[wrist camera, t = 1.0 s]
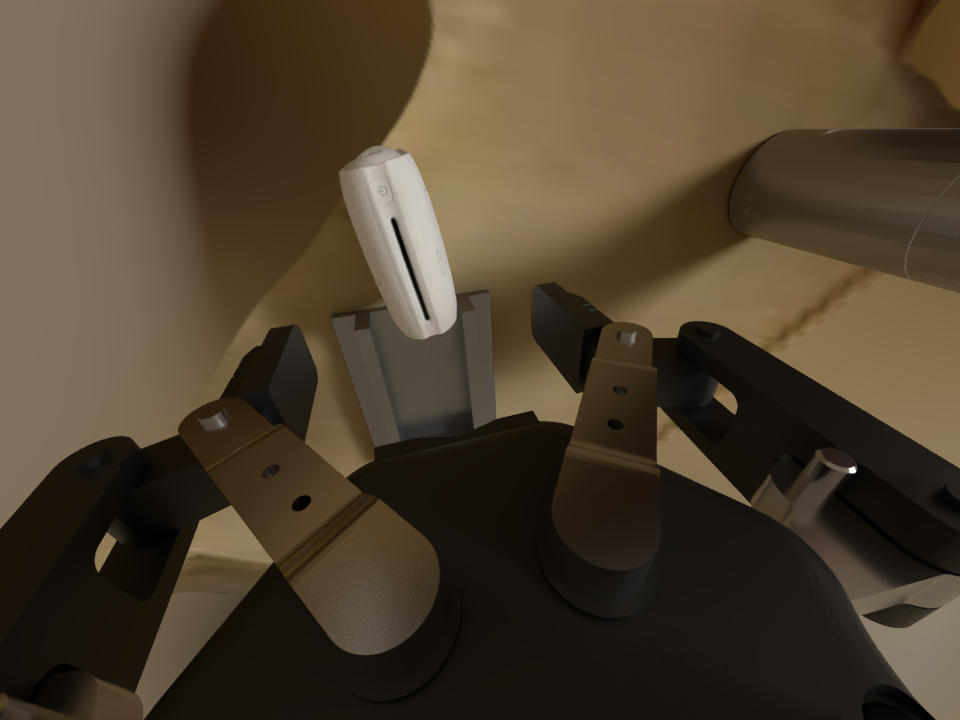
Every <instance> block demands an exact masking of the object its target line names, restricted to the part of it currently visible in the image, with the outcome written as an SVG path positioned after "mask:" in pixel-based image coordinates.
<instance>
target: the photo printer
mask: <svg viewBox="0 0 960 720" xmlns="http://www.w3.org/2000/svg"><path fill="white" fill-rule="evenodd" d="M339 177H340V184H341V190H342V194H343V198H344V201H345V204H346V207H347V210H348V214H349V216H350V219H351V222H352V225H353V227H354V230H355V233H356V236H357V238H358V241H359V243H360V246H361V248H362V251H363V254H364V256H365V259H366V261H367V263H368V266H369V268H370V271H371V273H372V275H373V278H374V280H375V282H376V285H377V287H378V289H379V291H380V293H381V296H382V298H383V300H384V302H385V304H386V306H387V308H388V310H389V312H390V314H391V316H392V318H393V320H394V321H395V323H396V324H397V326H398V327H399V329H400V330H401V331H402V332H403V333H404V334H405V335H406V336H407V337H409V338H412V339H426V338H428V337H430V336H433V335H437V334H443V333H444V332H446V331H447V330H449V329H450V328H451V327H452V326H453V324H454V323H455V321H456V317H457V301H456V295H455V290H454V284H453V280H452V276H451V271H450V267H449V263H448V259H447V256H446V252H445V248H444V244H443V241H442V237H441V234H440V230H439V227H438V223H437V220H436V217H435V213H434V210H433V207H432V204H431V201H430V198H429V195H428V192H427V190H426V188H425V185H424V182H423V180H422V177H421V175H420V173H419V170H418V168H417V166H416V164H415V162H414V160H413V158H412V157H411V155H410V153H408V152H406V151H403V150H401V149H397V150H392V149H390V148H388V147H384V146H374V147H370V148H368V149H366V150H364V151H363V152H362V153H361V154H360V155H359V156H358V157H357V158H356V159H355V160H354V161H351V162H350V163H348V164H347V165H346V166H345V167H344V168H343V169H342V170H341V171H340V172H339Z"/></svg>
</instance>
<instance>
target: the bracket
mask: <svg viewBox="0 0 960 720" xmlns="http://www.w3.org/2000/svg"><path fill="white" fill-rule="evenodd" d="M456 301H457V317H456V321H455V323H454V324H453V326H452V327H451V328H450V329H449V330H447V331H446V332H444V333H443V334H437V335H433V336H430V337H428V338H426V339H412V338H409V337H407V336H406V335H405V334H404V333H403V332H402V331H401V330H400V329H399V327H398V326H397V324H396V323H395V321H394V320H393V318H392V316H391V314H390V312H389V310H388V308H387V306H383V307H377V308H371V309H365V310H358V311H352V312H346V313H340V314H334V315H331V321H332V324H333V327H334V330H335V333H336V336H337V339H338V342H339V345H340V348H341V351H342V354H343V356H344V359H345V362H346V365H347V368H348V371H349V374H350V377H351V380H352V383H353V386H354V389H355V391H356V394H357V397H358V400H359V403H360V406H361V409H362V412H363V415H364V418H365V421H366V423H367V426H368V429H369V432H370V435H371V438H372V441H373V444H374V447H378V446H382V445H387V444H391V443H395V442H400V441H404V440H408V439H413V438H422V437H448V436H459V435H462V434H465V433H467V432H469V431H471V430H473V429H476V428H478V427H480V426H482V425H484V424H487V423H489V422H491V421H493V420H495V419H496V402H495V382H494V363H493V343H492V324H491V304H490V292H489V291H488V290H482V291H476V292H470V293H463V294H457V295H456Z"/></svg>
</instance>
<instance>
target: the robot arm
mask: <svg viewBox="0 0 960 720" xmlns="http://www.w3.org/2000/svg"><path fill="white" fill-rule="evenodd" d="M729 215H730V220H731V223H732V225H733V227H734V228H735V229H736V230H737V231H738V232H740V233H742V234H745V235H749V236H752V237H756V238H760V239H763V240H767V241H770V242H774V243H777V244H781V245H784V246H788V247H792V248H795V249H799V250H802V251H806V252H810V253H813V254H817V255H821V256H824V257H828V258H832V259H835V260H839V261H843V262H846V263H850V264H854V265H857V266H861V267H865V268H868V269H872V270H876V271H879V272H883V273H887V274H890V275H894V276H897V277H901V278H905V279H908V280H912V281H916V282H920V283H924V284H928V285H931V286H935V287H938V288H942V289H946V290H950V291H953V292H957V293H960V128H936V129H794V130H787V131H784V132H782V133H779V134H777V135H776V136H774V137H772V138H771V139H769V140H768V141H767V142H765V143H764V144H763V145H762V146H761V147H760V148H759V149H758V150H757V151H756V152H755V153H754V154H753V155H752V156H751V157H750V159H749V160H748V162H747V163H746V164H745V166H744V167H743V169H742V171H741V172H740V174H739V176H738V178H737V180H736V182H735V185H734V188H733V190H732V194H731V198H730V204H729ZM531 328H532V334H533V337H534V339H535V341H536V342H537V343H538V345H539V346H540V347H541V349H542V350H543V351H544V352H545V354H546V355H547V356H548V358H549V359H550V360H551V361H552V363H553V364H554V365H555V367H556V368H557V369H558V370H559V372H560V373H561V374H562V376H563V377H564V378H565V379H566V381H567V382H568V383H569V385H570V386H571V387H572V388H573V390H574V391H575V392H576V393H580V392H583V395H582V399H581V403H580V406H579V410H578V414H577V418H576V421H575V425H574V426H571V425H567V424H563V423H557V422H548V421H539V420H538V419H537V417H536V415H535V414H534V412H533V411H529V412H525V413H520V414H516V415H512V416H508V417H503V418H499V419H495V420H493V421H491V422H489V423H487V424H484V425H482V426H480V427H478V428H476V429H473V430H471V431H469V432H467V433H465V434H462V435H459V436H448V437H422V438H413V439H408V440H404V441H400V442H395V443H391V444H387V445H382V446H378V447H375V460H374V461H372V462H370V463H368V464H366V465H364V466H362V467H361V468H359V469H358V470H356V471H355V472H353V473H352V474H350V475H349V476H348V477H347V478H345V477H344V476H343V475H342V474H341V473H339V472H338V471H337V470H336V469H335V468H334V467H332V466H331V465H330V464H329V463H328V462H327V461H325V460H324V459H323V458H322V457H321V456H320V455H318V454H317V453H316V452H315V451H314V450H312V449H311V448H310V447H309V446H308V445H307V444H305V443H304V442H305V438H306V433H307V429H308V424H309V419H310V415H311V410H312V406H313V401H314V397H315V392H316V387H317V383H318V376H317V370H316V366H315V363H314V361H313V359H312V356H311V354H310V351H309V349H308V346H307V344H306V341H305V339H304V336H303V334H302V332H301V329H300V328H299V326H298V325H296V324H295V325H289V326H283V327H277V328H271V329H270V330H269V332H268V334H267V336H266V338H265V340H264V342H263V343H262V345H261V346H256V347H255V348H253V349H252V350H251V351H250V352H249V353H247V354H246V355H245V356H244V357H243V359H242V361H241V362H240V364H239V366H238V367H239V368H237V369H236V371H235V373H234V377H232V378H231V380H230V382H229V383H228V385H227V387H226V389H225V390H224V392H223V394H222V396H221V397H220V399H218V400H215V401H212V402H209V403H207V404H205V405H203V406H201V407H199V408H197V409H196V410H194V411H193V412H191V413H190V414H189V415H187V416H186V417H185V418H184V419H183V421H182V422H181V423H180V425H179V428H178V433H179V435H176V436H174V437H171V438H169V439H166V440H163V441H161V442H158V443H156V444H153V445H151V446H148V447H145V448H142V449H140V447H139V446H138V445H137V444H136V443H135V442H134V441H133V440H132V439H131V438H130V437H126V436H117V437H111V438H108V439H103V440H100V441H98V442H95V443H93V444H90V445H88V446H86V447H84V448H82V449H80V450H78V451H76V452H75V453H73V454H71V455H70V456H68V457H67V458H65V459H64V460H63V461H61V462H60V463H59V464H58V465H57V466H55V467H54V468H53V470H52V471H51V472H50V473H49V474H48V475H47V476H46V478H45V479H44V480H43V481H42V482H41V483H40V484H39V485H38V487H37V488H36V489H35V490H34V491H33V492H32V493H31V495H30V496H29V497H28V498H27V499H26V500H25V501H24V503H23V504H22V505H21V506H20V507H19V508H18V510H17V511H16V512H15V513H14V514H13V515H12V516H11V518H10V519H9V520H8V521H7V522H6V523H5V524H4V525H3V527H2V528H1V529H0V720H143V704H142V702H141V699H140V698H139V696H138V695H137V694H135V691H136V688H137V685H138V683H139V680H140V677H141V675H142V672H143V670H144V667H145V664H146V661H147V659H148V656H149V654H150V651H151V648H152V646H153V643H154V640H155V638H156V635H157V632H158V630H159V627H160V624H161V622H162V619H163V616H164V614H165V611H166V608H167V606H168V603H169V601H170V598H171V595H172V593H173V590H174V587H175V585H176V582H177V579H178V577H179V574H180V571H181V569H182V566H183V563H184V561H185V558H186V555H187V553H188V550H189V547H190V545H191V542H192V539H193V537H194V534H195V532H196V529H197V526H198V523H199V520H201V519H203V518H205V517H207V516H210V515H212V514H214V513H216V512H218V511H220V510H222V509H224V508H226V507H228V506H230V505H232V507H233V508H234V509H235V511H236V512H237V513H238V515H239V516H240V517H241V519H242V520H243V521H244V523H245V524H246V525H247V527H248V528H249V529H250V531H251V532H252V533H253V535H254V536H255V537H256V539H257V540H258V541H259V543H260V544H261V545H262V547H263V548H264V549H265V551H266V552H267V553H268V555H269V556H270V557H271V559H272V560H273V561H274V562H273V563H272V564H271V566H270V567H269V568H268V569H267V570H266V572H265V573H264V574H263V575H262V576H261V578H260V579H259V580H258V581H257V582H256V584H255V585H254V586H253V587H252V588H251V590H250V591H249V592H248V593H247V595H246V596H245V597H244V598H243V599H242V601H241V602H240V603H239V604H238V605H237V607H236V608H235V609H234V610H233V612H232V613H231V614H230V615H229V616H228V617H227V619H226V620H225V621H224V622H223V624H222V625H221V626H220V627H219V628H218V630H217V631H216V632H215V633H214V634H213V636H212V637H211V638H210V640H208V642H207V643H206V644H205V645H204V647H203V648H202V649H201V650H200V652H198V654H197V655H196V656H195V657H194V659H193V660H192V661H191V662H190V663H189V665H188V666H187V667H186V668H185V669H184V671H183V672H182V673H181V674H180V675H179V677H178V678H177V679H176V680H175V681H174V683H173V684H172V685H171V686H170V688H169V689H168V690H167V691H166V692H165V694H164V695H163V696H162V697H161V698H160V700H159V701H158V702H157V703H156V705H155V706H154V707H153V708H152V710H151V711H150V712H149V714H148V715H147V716H146V717H145V719H144V720H935V719H934V718H933V717H932V716H931V715H930V714H929V713H928V712H927V711H926V710H925V709H924V708H923V707H922V706H921V704H919V702H918V701H917V700H916V699H915V698H914V697H913V696H912V694H911V693H910V692H909V690H908V689H907V688H906V686H905V685H904V684H903V683H902V681H901V680H900V679H899V677H898V676H897V675H896V673H895V672H894V671H893V669H892V668H891V667H890V665H889V664H888V662H887V661H886V660H885V658H884V657H883V655H882V654H881V652H880V651H879V650H878V648H877V646H876V645H875V644H874V642H873V641H872V639H871V637H870V635H869V634H868V632H867V630H866V629H865V627H864V625H863V624H862V622H861V620H860V618H859V617H858V616H861V615H862V616H864V617H866V618H868V619H870V620H872V621H874V622H876V623H879V624H881V625H885V626H888V627H893V628H905V627H909V626H911V625H913V624H914V623H916V622H918V621H919V620H921V619H923V618H924V617H926V616H927V615H929V614H931V613H932V612H934V611H936V610H937V609H939V608H940V607H942V606H944V605H945V604H947V603H948V602H950V601H952V600H953V599H955V598H957V597H958V596H960V468H958V467H956V466H955V465H953V464H952V463H950V462H948V461H947V460H945V459H943V458H942V457H940V456H938V455H937V454H935V453H933V452H932V451H930V450H928V449H927V448H925V447H923V446H922V445H920V444H918V443H917V442H915V441H913V440H912V439H910V438H909V437H907V436H905V435H903V434H902V433H900V432H899V431H897V430H895V429H894V428H892V427H890V426H889V425H887V424H885V423H884V422H882V421H880V420H879V419H877V418H875V417H873V416H872V415H870V414H869V413H867V412H865V411H864V410H862V409H861V408H859V407H857V406H855V405H854V404H852V403H851V402H849V401H847V400H845V399H844V398H842V397H841V396H839V395H837V394H836V393H834V392H832V391H831V390H829V389H827V388H826V387H824V386H822V385H821V384H819V383H817V382H816V381H814V380H813V379H811V378H809V377H807V376H806V375H804V374H802V373H801V372H799V371H798V370H796V369H794V368H792V367H791V366H789V365H787V364H786V363H784V362H783V361H781V360H779V359H778V358H776V357H774V356H773V355H771V354H769V353H768V352H766V351H765V350H763V349H761V348H760V347H758V346H756V345H755V344H753V343H751V342H750V341H748V340H746V339H745V338H743V337H741V336H740V335H738V334H736V333H735V332H733V331H731V330H730V329H728V328H726V327H724V326H721V325H718V324H715V323H710V322H703V321H693V322H688V323H685V324H683V325H682V326H681V327H680V330H679V334H678V337H677V338H653V335H652V333H651V332H650V331H649V330H648V329H647V328H645V327H643V326H640V325H637V324H634V323H628V322H615V323H614V322H613V321H612V320H610V319H609V318H608V317H606V316H605V315H604V314H603V313H601V312H600V311H599V310H597V309H596V308H595V307H594V306H593V305H590V303H589V302H588V301H586V300H585V299H584V298H582V297H580V296H577V295H575V294H572V293H568V292H566V291H565V290H564V289H563V288H562V287H560V286H559V285H558V284H557V283H555V282H552V283H546V284H540V285H535V286H534V287H533V289H532V313H531ZM718 383H720V384H722V385H723V386H724V387H725V388H727V389H728V390H729V391H730V392H732V394H733V395H734V396H735V398H736V401H737V404H738V408H737V412H736V414H735V415H734V414H733V413H732V412H730V411H729V410H728V409H727V408H726V407H724V406H723V405H722V404H721V403H720V402H719V401H717V400H716V399H715V398H714V397H713V395H714V393H715V390H716V388H717V386H718ZM657 407H660V408H661V409H662V410H663V411H664V412H665V413H666V414H667V415H668V416H669V418H670V419H671V420H672V421H673V422H674V423H675V424H676V425H677V426H678V427H679V428H680V429H681V430H682V431H683V432H684V433H685V434H686V436H687V437H688V438H689V439H690V440H691V441H692V442H693V443H694V444H695V445H696V446H697V447H698V448H699V449H700V450H701V452H702V453H704V455H705V456H706V457H707V458H708V459H709V460H710V461H711V462H712V463H713V464H714V465H715V466H716V467H717V469H719V471H720V472H721V473H722V474H723V475H724V476H725V477H726V478H727V479H728V480H729V481H730V482H731V483H732V485H733V486H734V487H735V488H736V489H737V490H738V491H739V492H740V493H741V494H742V495H743V496H744V497H745V498H746V499H747V500H748V501H749V503H750V504H751V507H749V506H747V505H745V504H743V503H741V502H739V501H736V500H734V499H732V498H730V497H728V496H726V495H723V494H721V493H719V492H717V491H714V490H712V489H710V488H708V487H706V486H704V485H701V484H699V483H697V482H695V481H693V480H691V479H688V478H686V477H684V476H682V475H680V474H678V473H675V472H673V471H671V470H669V469H667V468H665V467H663V466H660V465H658V464H657ZM106 532H107V533H109V534H110V535H111V536H112V537H114V538H115V539H116V540H117V541H116V543H115V545H114V546H113V548H112V550H111V552H110V554H109V555H108V557H107V559H106V561H105V562H104V564H103V566H102V568H101V570H100V571H99V573H98V571H97V569H96V567H95V554H96V550H97V548H98V546H99V544H100V542H101V541H102V539H103V537H104V536H105V534H106Z"/></svg>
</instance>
